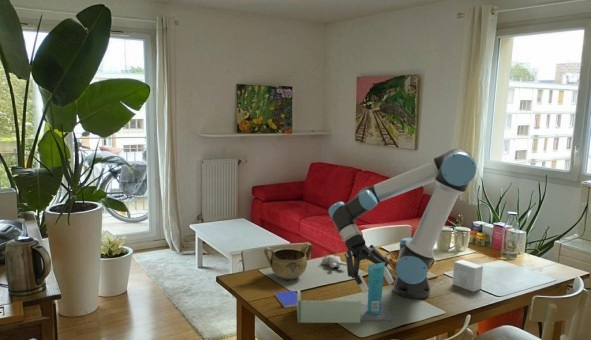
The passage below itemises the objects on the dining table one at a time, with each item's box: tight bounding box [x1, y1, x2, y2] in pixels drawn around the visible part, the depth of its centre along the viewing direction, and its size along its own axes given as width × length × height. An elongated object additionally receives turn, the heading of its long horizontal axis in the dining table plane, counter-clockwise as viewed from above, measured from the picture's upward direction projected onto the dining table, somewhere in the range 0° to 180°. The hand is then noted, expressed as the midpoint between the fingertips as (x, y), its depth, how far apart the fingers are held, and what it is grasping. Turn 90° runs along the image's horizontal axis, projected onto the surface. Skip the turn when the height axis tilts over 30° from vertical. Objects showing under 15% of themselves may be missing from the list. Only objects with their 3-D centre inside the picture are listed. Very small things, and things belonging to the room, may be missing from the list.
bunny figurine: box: [321, 254, 347, 269], centre depth 229 cm, size 10×5×15 cm
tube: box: [367, 262, 385, 314], centre depth 178 cm, size 7×5×19 cm, turn 122°
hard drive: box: [275, 290, 303, 309], centre depth 191 cm, size 2×8×12 cm
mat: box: [360, 304, 394, 322], centre depth 180 cm, size 12×12×1 cm
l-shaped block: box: [296, 288, 362, 324], centre depth 177 cm, size 23×11×8 cm, turn 91°
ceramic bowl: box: [263, 241, 314, 280], centre depth 213 cm, size 22×17×15 cm
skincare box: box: [452, 259, 484, 292], centre depth 206 cm, size 10×6×10 cm, turn 37°
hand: (379, 287), depth 176 cm, fingers open, 13 cm apart
